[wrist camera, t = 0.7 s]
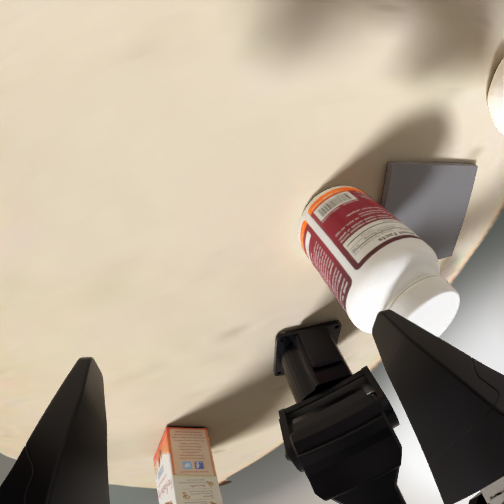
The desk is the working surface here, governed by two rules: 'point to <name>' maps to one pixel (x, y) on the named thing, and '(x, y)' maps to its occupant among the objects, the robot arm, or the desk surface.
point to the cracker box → (186, 468)
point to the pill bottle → (374, 261)
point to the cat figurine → (497, 98)
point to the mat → (430, 199)
